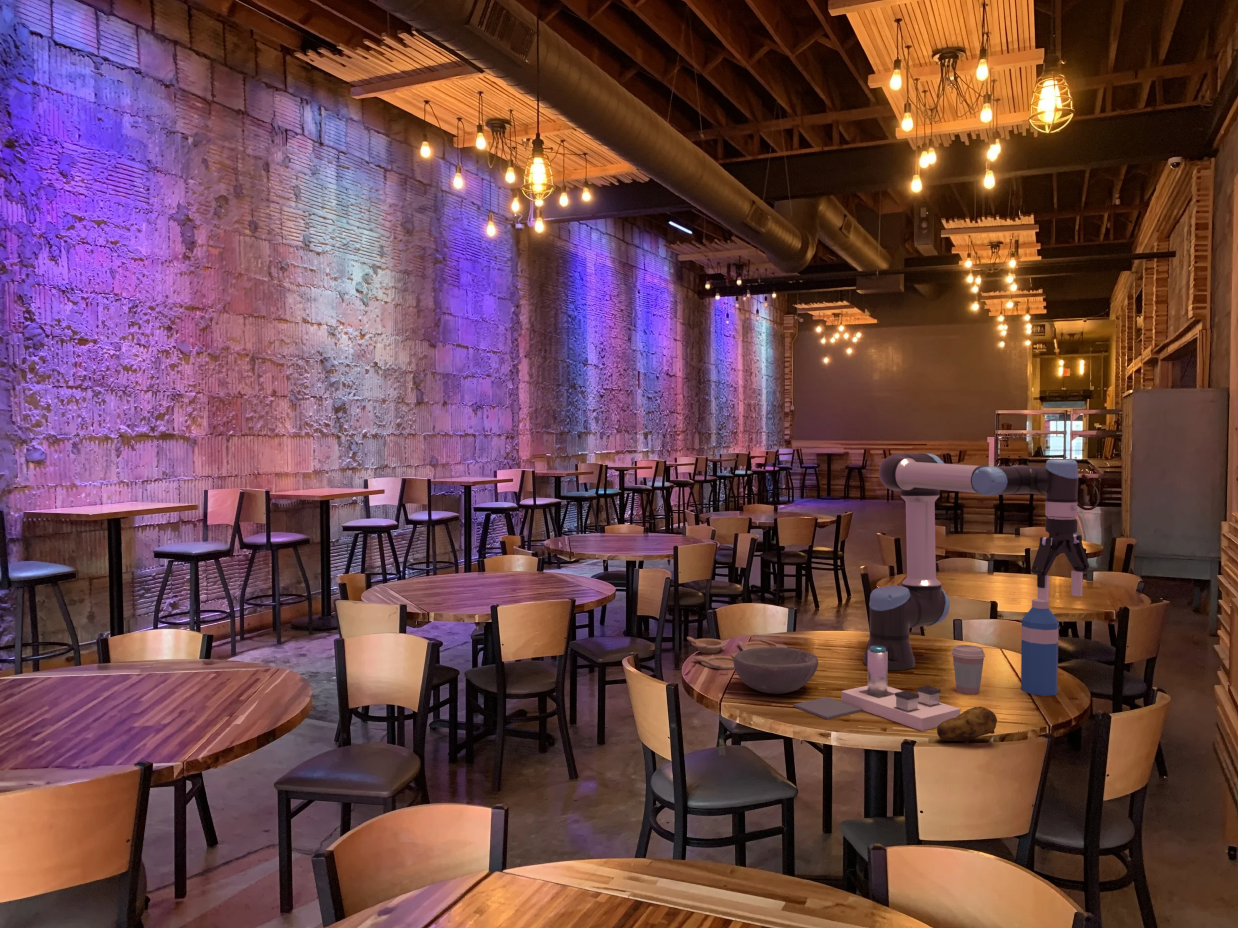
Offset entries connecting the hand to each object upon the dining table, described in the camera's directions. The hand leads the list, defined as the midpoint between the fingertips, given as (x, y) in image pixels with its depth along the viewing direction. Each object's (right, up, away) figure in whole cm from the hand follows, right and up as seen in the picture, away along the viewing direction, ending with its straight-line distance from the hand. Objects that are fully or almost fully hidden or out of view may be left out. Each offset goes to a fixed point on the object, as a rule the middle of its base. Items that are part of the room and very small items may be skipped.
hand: (1060, 597), depth 228 cm
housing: (-46, -28, -9) cm, 54 cm away
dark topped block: (-39, -24, -12) cm, 48 cm away
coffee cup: (-21, -27, +8) cm, 35 cm away
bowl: (-74, -27, +10) cm, 79 cm away
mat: (-63, -28, -7) cm, 69 cm away
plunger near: (-46, -24, -16) cm, 54 cm away
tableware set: (-78, -27, +48) cm, 95 cm away
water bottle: (-1, -27, +9) cm, 29 cm away
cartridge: (-49, -27, -3) cm, 56 cm away
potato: (-37, -28, -31) cm, 56 cm away
